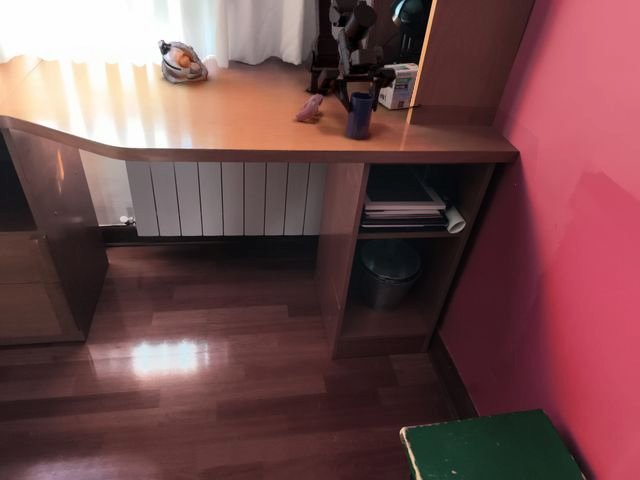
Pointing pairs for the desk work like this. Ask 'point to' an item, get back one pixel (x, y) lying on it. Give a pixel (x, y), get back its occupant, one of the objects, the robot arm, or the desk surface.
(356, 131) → the pencil cup
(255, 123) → the desk surface
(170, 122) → the desk surface
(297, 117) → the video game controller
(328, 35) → the robot arm
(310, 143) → the desk surface
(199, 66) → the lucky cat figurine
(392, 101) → the light bulb box
